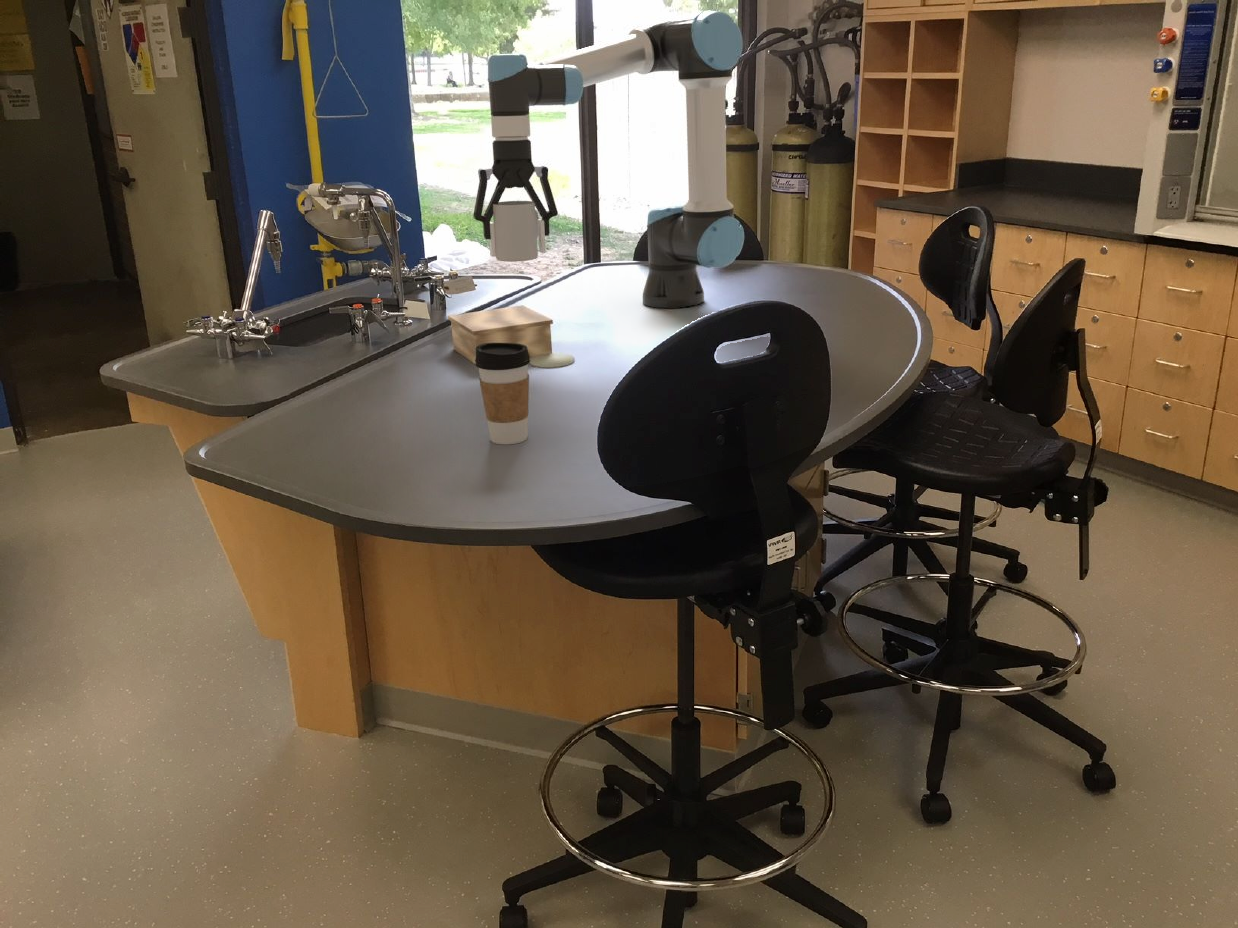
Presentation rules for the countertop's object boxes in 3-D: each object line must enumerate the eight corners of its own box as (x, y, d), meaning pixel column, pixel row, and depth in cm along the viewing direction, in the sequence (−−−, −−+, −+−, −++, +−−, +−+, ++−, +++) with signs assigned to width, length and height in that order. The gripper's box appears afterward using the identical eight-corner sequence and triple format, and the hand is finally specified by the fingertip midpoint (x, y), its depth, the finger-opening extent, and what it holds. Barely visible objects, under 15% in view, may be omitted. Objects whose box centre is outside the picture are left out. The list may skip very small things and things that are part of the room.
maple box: (525, 337, 221) (523, 305, 219) (555, 354, 207) (553, 319, 204) (451, 349, 215) (448, 315, 212) (476, 367, 200) (473, 331, 198)
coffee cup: (483, 431, 164) (475, 341, 158) (535, 428, 164) (529, 337, 159) (481, 449, 156) (472, 354, 150) (536, 445, 156) (529, 351, 151)
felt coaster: (568, 353, 207) (568, 351, 207) (579, 364, 199) (579, 362, 199) (525, 358, 205) (525, 356, 205) (534, 369, 197) (534, 367, 197)
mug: (521, 263, 200) (518, 206, 196) (487, 260, 204) (483, 204, 200) (555, 254, 209) (553, 199, 205) (522, 251, 213) (519, 198, 210)
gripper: (562, 136, 204) (566, 248, 212) (452, 140, 199) (461, 254, 207) (570, 137, 198) (575, 253, 206) (457, 141, 192) (466, 260, 200)
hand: (518, 254), depth 206 cm, fingers closed on mug, 9 cm apart
